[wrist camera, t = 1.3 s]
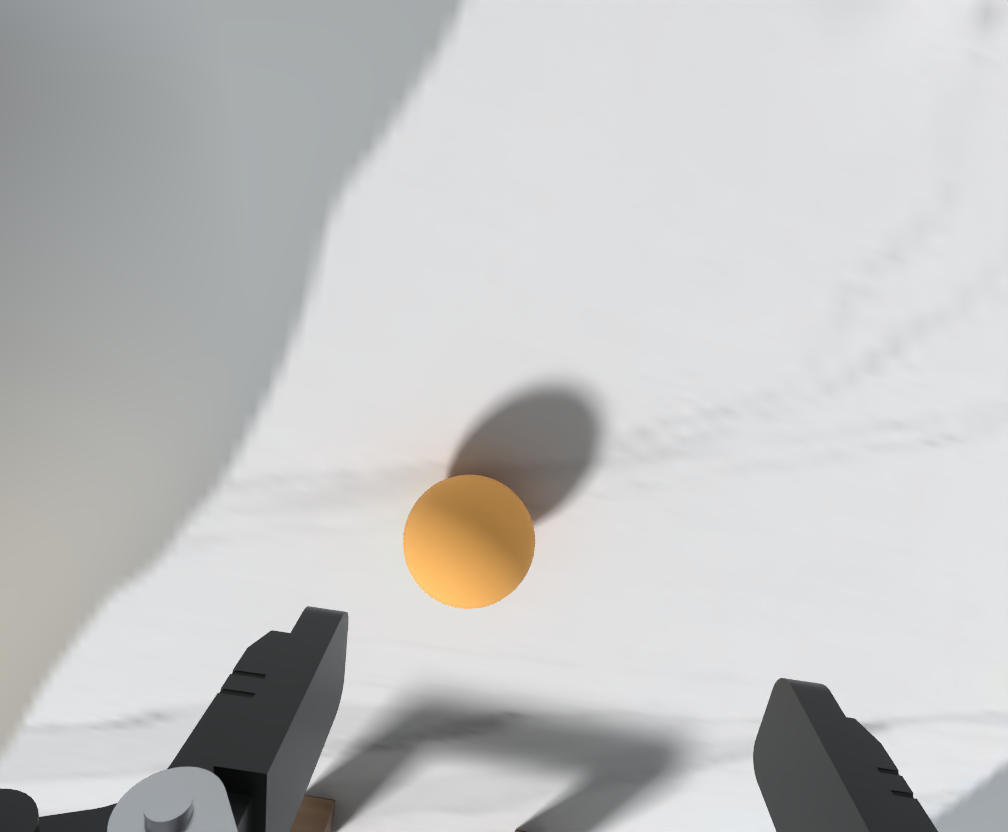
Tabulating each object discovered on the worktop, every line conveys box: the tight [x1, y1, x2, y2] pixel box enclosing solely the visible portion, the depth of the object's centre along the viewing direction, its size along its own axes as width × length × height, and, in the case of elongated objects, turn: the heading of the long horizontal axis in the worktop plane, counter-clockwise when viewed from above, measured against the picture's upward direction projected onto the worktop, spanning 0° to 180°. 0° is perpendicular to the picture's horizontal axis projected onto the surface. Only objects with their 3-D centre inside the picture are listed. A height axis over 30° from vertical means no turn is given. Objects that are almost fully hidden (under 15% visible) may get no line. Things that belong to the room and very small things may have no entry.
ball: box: [403, 475, 535, 609], centre depth 29 cm, size 6×6×6 cm
